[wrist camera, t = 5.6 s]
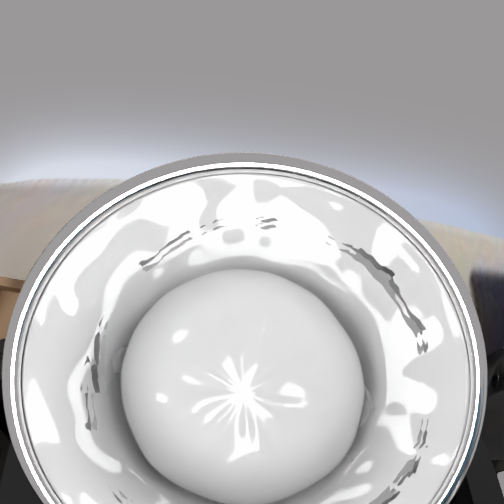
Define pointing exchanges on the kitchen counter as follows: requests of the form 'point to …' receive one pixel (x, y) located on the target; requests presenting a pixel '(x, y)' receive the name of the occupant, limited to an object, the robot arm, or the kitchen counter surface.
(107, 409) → the beer glass
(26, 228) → the kitchen counter surface
